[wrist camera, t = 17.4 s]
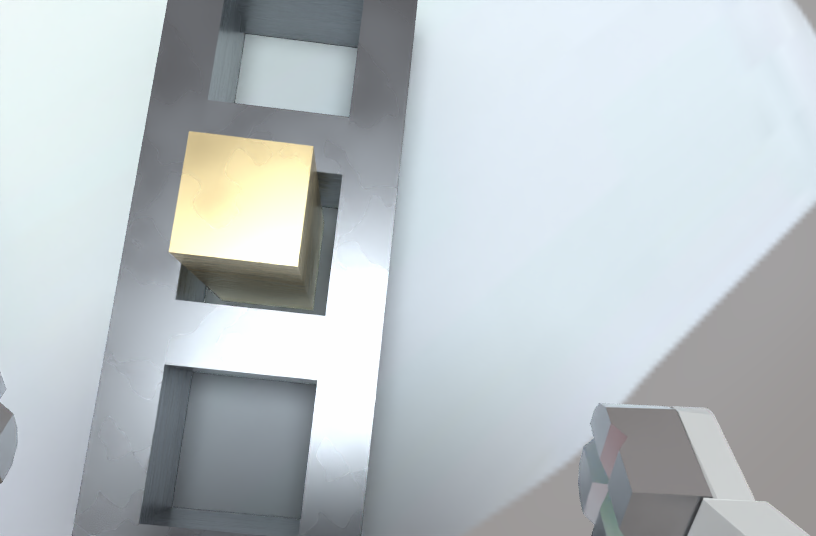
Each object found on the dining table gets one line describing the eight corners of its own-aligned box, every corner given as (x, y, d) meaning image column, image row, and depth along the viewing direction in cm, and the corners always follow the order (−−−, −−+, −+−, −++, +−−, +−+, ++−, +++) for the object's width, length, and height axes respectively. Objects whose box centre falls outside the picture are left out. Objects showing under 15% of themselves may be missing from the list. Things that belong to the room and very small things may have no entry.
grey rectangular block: (355, 554, 31) (356, 579, 27) (113, 532, 31) (68, 554, 26) (411, 31, 36) (420, -29, 31) (202, 4, 36) (178, -62, 31)
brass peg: (313, 310, 33) (297, 266, 24) (222, 300, 33) (168, 252, 23) (324, 223, 34) (313, 146, 24) (235, 213, 34) (189, 131, 24)
